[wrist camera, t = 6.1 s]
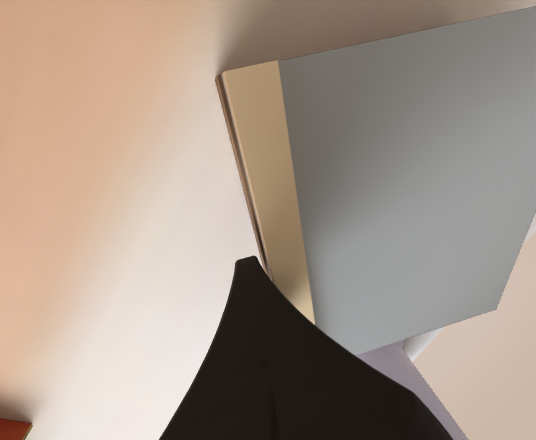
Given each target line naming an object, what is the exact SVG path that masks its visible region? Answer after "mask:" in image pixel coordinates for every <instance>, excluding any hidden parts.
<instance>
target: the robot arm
mask: <svg viewBox="0 0 536 440" xmlns="http://www.w3.org/2000/svg"><path fill="white" fill-rule="evenodd" d="M403 345H404V340H401V341H398V342H395V343H392V344H389V345H386V346H383V347H380V348H376V349H373V350H370V351H367V352H364V353H361V354H358V355H354V354H352V353H351V352H349V351H348V350H347V349H345V348H344V347H343V346H341V345H340V344H339V343H337V342H336V341H335V340H333V339H332V338H331V337H329V336H328V335H326V334H325V333H324V332H323V331H322V330H320V329H319V328H318V327H317V326H316V325H314V324H313V323H312V322H311V321H310V320H309V319H307V318H306V317H305V316H304V315H303V314H302V313H301V312H300V311H299V310H298V309H297V308H296V307H295V306H294V305H293V304H292V303H291V302H290V301H289V300H288V299H287V298H286V297H285V296H284V295H283V294H282V293H281V292H280V290H279V289H278V288H277V287H276V286H275V284H274V283H273V282H272V281H271V279H270V278H269V277H268V275H267V274H266V273H265V271H264V270H263V268H262V266H261V265H260V263H259V261H258V259H257V257H256V256H250V257H247V258H243V259H240V260H237V261H236V263H235V271H234V276H233V281H232V285H231V289H230V293H229V296H228V300H227V303H226V307H225V309H224V312H223V315H222V318H221V321H220V324H219V326H218V329H217V332H216V334H215V337H214V339H213V341H212V344H211V346H210V348H209V350H208V353H207V355H206V357H205V359H204V361H203V363H202V365H201V367H200V369H199V371H198V373H197V375H196V377H195V379H194V381H193V383H192V384H191V386H190V388H189V390H188V392H187V393H186V395H185V397H184V399H183V400H182V402H181V404H180V405H179V407H178V409H177V411H176V412H175V414H174V416H173V417H172V419H171V421H170V422H169V424H168V426H167V428H166V429H165V431H164V432H163V434H162V436H161V437H160V439H159V440H468V438H467V437H466V435H465V434H464V433H463V431H462V430H461V429H460V427H459V426H458V425H457V423H456V422H455V420H454V419H453V418H452V416H451V415H450V413H449V412H448V411H447V409H446V408H445V407H444V405H443V404H442V403H441V401H440V400H439V399H438V397H437V396H436V394H435V393H434V392H433V390H432V389H431V388H430V386H429V385H428V384H427V382H426V381H425V380H424V378H423V377H422V375H421V374H420V373H419V371H418V370H417V369H416V367H415V366H414V365H413V363H412V361H411V360H410V359H409V357H408V356H407V355H406V353H405V352H404V351H403Z"/></svg>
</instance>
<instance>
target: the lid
mask: <svg viewBox="0 0 536 440" xmlns="http://www.w3.org/2000/svg"><path fill="white" fill-rule="evenodd" d="M221 75H222V80H223V84H224V88H225V92H226V96H227V100H228V104H229V108H230V112H231V116H232V121H233V125H234V129H235V133H236V137H237V141H238V145H239V149H240V153H241V157H242V162H243V166H244V170H245V174H246V178H247V182H248V186H249V190H250V194H251V198H252V203H253V207H254V211H255V215H256V219H257V223H258V227H259V231H260V235H261V240H262V244H263V248H264V252H265V256H266V260H267V264H268V268H269V272H270V276H271V281H272V282H273V283H274V284H275V286H276V287H277V288H278V289H279V290H280V292H281V293H282V294H283V295H284V296H285V297H286V298H287V299H288V300H289V301H290V302H291V303H292V304H293V305H294V306H295V307H296V308H297V309H298V310H299V311H300V312H301V313H302V314H303V315H304V316H305V317H306V318H307V319H309V320H310V321H311V322H312V323H313V324H314V325H316V326H317V327H318V328H319V329H320V330H322V331H323V332H324V333H325V334H326V335H328V336H329V337H331V338H332V339H333V340H335V341H336V342H337V343H339V344H340V345H341V346H343V347H344V348H345V349H347V350H348V351H349V352H351V353H352V354H354V355H358V354H361V353H364V352H367V351H370V350H373V349H376V348H380V347H383V346H386V345H389V344H392V343H395V342H398V341H401V340H404V339H407V338H410V337H413V336H416V335H419V334H423V333H426V332H429V331H432V330H435V329H438V328H441V327H444V326H447V325H450V324H453V323H456V322H459V321H462V320H466V319H469V318H472V317H474V316H477V315H481V314H484V313H487V312H490V311H493V310H496V309H497V306H498V304H499V301H500V299H501V296H502V293H503V291H504V288H505V286H506V284H507V281H508V279H509V276H510V274H511V271H512V269H513V266H514V264H515V261H516V259H517V256H518V254H519V252H520V249H521V247H522V244H523V242H524V239H525V237H526V234H527V232H528V229H529V227H530V224H531V222H532V219H533V217H534V214H535V212H536V6H535V7H530V8H525V9H521V10H516V11H511V12H507V13H502V14H497V15H493V16H488V17H483V18H479V19H474V20H469V21H464V22H460V23H455V24H450V25H446V26H441V27H436V28H432V29H427V30H422V31H418V32H413V33H408V34H404V35H399V36H394V37H390V38H385V39H380V40H376V41H371V42H366V43H362V44H357V45H352V46H348V47H343V48H338V49H334V50H329V51H324V52H319V53H315V54H310V55H305V56H301V57H296V58H291V59H287V60H282V61H278V60H274V61H270V62H265V63H260V64H256V65H251V66H246V67H242V68H237V69H232V70H227V71H224V72H223V73H222V74H221Z"/></svg>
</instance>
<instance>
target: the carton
mask: <svg viewBox="0 0 536 440" xmlns="http://www.w3.org/2000/svg"><path fill="white" fill-rule="evenodd" d="M32 427H33V426H32V423H26V422H20V421H13V420H7V419H1V418H0V440H25V439H26V437H27V435H28V434H29V432H30V430H31V429H32Z"/></svg>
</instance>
